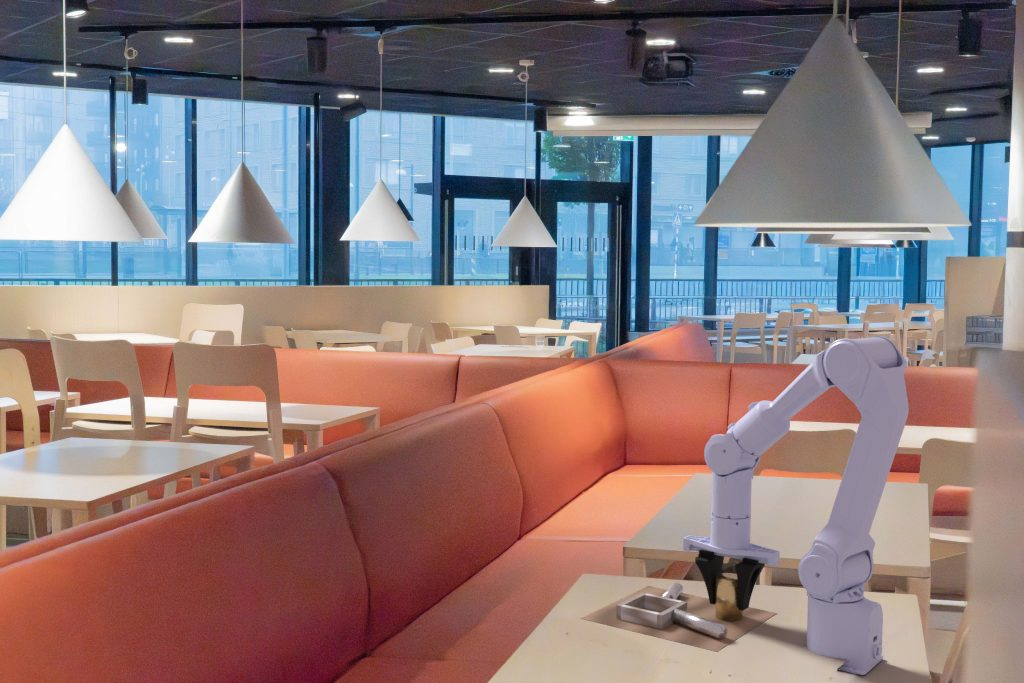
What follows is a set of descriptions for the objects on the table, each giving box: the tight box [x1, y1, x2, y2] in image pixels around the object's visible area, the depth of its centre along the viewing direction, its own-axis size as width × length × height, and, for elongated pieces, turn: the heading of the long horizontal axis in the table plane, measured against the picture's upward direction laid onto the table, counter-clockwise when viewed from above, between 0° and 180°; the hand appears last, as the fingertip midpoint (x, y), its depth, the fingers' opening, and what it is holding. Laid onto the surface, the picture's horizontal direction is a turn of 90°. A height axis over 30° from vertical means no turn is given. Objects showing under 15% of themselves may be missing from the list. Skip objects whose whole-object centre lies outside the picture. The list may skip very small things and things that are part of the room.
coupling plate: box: [580, 585, 778, 653], centre depth 158 cm, size 22×20×4 cm
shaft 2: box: [671, 609, 727, 640], centre depth 152 cm, size 9×2×2 cm, turn 38°
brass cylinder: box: [715, 573, 743, 621], centre depth 158 cm, size 4×4×6 cm
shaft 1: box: [662, 582, 684, 600], centre depth 164 cm, size 8×2×2 cm, turn 158°
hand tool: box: [722, 557, 743, 574], centre depth 180 cm, size 19×4×5 cm, turn 149°
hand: (729, 605), depth 158 cm, fingers closed on brass cylinder, 4 cm apart
